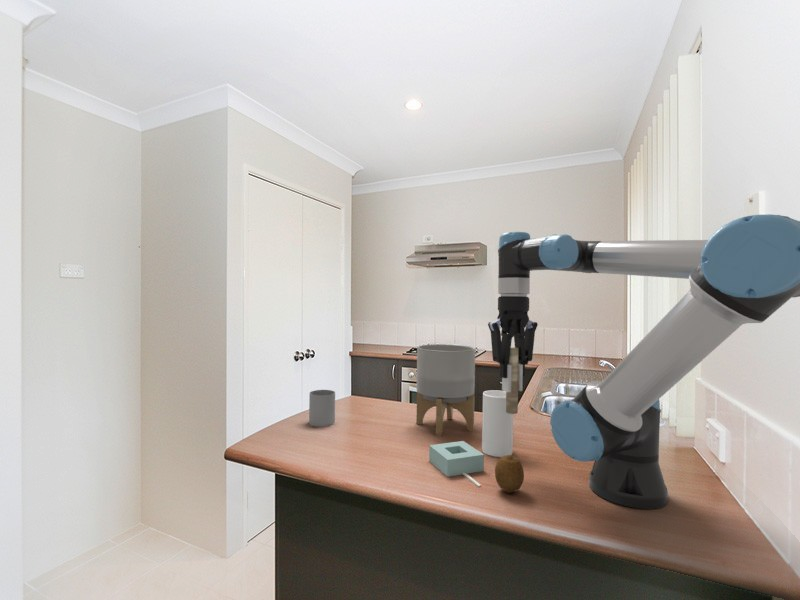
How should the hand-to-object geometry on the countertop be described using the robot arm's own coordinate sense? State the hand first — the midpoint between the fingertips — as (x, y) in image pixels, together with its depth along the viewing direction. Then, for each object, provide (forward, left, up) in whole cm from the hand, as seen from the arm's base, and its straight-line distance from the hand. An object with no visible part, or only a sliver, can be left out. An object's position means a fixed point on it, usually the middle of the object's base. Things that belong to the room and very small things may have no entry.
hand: (512, 390), depth 102 cm
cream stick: (-2, +13, -20) cm, 23 cm away
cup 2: (+11, -4, -20) cm, 23 cm away
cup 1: (+52, +37, -20) cm, 67 cm away
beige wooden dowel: (0, 0, -6) cm, 6 cm away
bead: (+6, +12, -20) cm, 24 cm away
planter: (+35, 0, -20) cm, 40 cm away
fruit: (-10, +8, -20) cm, 23 cm away
